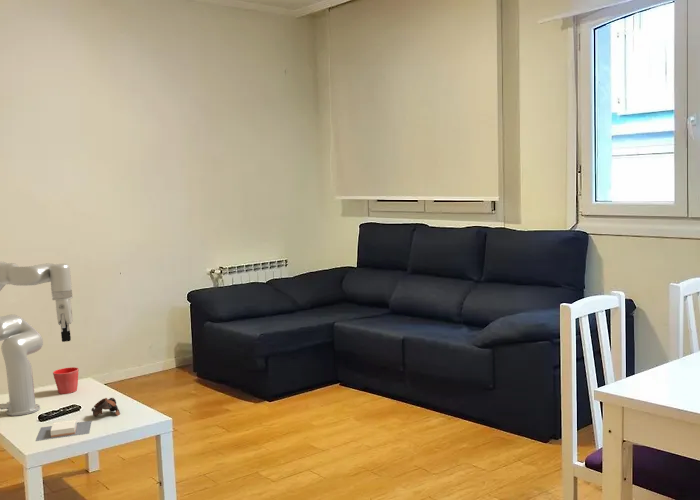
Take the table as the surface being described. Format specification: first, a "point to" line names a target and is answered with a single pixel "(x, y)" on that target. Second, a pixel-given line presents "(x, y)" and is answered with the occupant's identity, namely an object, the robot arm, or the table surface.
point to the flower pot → (66, 380)
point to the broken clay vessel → (105, 406)
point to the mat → (80, 430)
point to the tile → (63, 428)
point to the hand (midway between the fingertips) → (66, 340)
